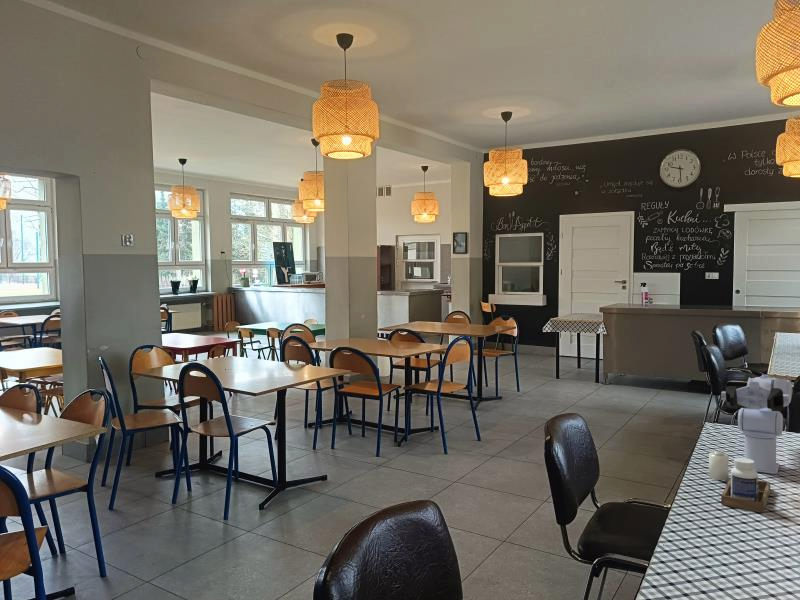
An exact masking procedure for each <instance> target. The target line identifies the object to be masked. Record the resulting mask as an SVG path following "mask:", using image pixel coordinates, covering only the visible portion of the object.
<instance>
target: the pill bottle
mask: <svg viewBox="0 0 800 600" xmlns="http://www.w3.org/2000/svg"><path fill="white" fill-rule="evenodd" d="M733 462H734V463H733V464H734V467H732V468H731V470H730V478H731V495H730V497H736V498H741V499H747V500H752V501H758V502H759V500H758V490H759V489H758V480H759V473H758V471H755V470H753V469H754V468H755V462H754V461H753V460H751V459H746V458H745V457H736V458H734V461H733Z"/></svg>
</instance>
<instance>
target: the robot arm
mask: <svg viewBox="0 0 800 600" xmlns="http://www.w3.org/2000/svg"><path fill="white" fill-rule="evenodd" d="M746 383H747V384H746V386H743V387H739V388H737V386H736V385H734V386H732V385H728V386H726V387H725V391H721V395H720V396H721V401H725V404H726V408H727V409H737V410H738V405H739V406H743V407H741V408H740V409H739V410H738V412H737V413H738V414H737V427H738V429H739V431H740V432H741V433H742V435H743V436H744V458H746V459H751V460H753V461H754V462H755V468H754V469H753V470H755V471H756V472H757V473H758V472H759V473H766V474H770V475H771V474H772V475H778V471H779V468H780V463H779V462H777V438H778V437H781V435H783V430H784V429H783V428H784V427H783V426H784V424H783V423H784V422H783V421H784V420H783V419H784V416H783V414H782V413H781V412H783V410H784V408H785V407H788V406H789V404H790V403H791V401H792V395H793V393H792V392H793V389H792V387H793V385H792V381H791V380H790V379H786V378H785V379H784V378H779V377H770V376H769V374H762V375H761V376H757V377H756V376H755V377H752V378H751V377H748V380H747V381H746ZM744 407H745V408H744Z"/></svg>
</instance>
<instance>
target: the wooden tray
mask: <svg viewBox="0 0 800 600" xmlns="http://www.w3.org/2000/svg"><path fill="white" fill-rule="evenodd" d="M770 492H771V481H766V480H760V479H758V501H752V500H747V499H741V498H736V497H731V477H729V480H727V484H726V486H725V488H724V490H723V492H722V494H721V497H720V498H721V499H720V500H721V501H720V502H721V503H720V504H722V505H721V506H726V505H727V506H728V507H732V508H737V509H738V508H739V509H742V508H743V510H749V511H753V512H759V513H764V512H765V510H766V507H767V503H768V501H769V497H768V496H770ZM729 494H730V495H729ZM727 506H726V507H727Z"/></svg>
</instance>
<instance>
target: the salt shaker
mask: <svg viewBox="0 0 800 600" xmlns="http://www.w3.org/2000/svg"><path fill="white" fill-rule="evenodd" d="M729 463H730V462H729V454H726V453H724V452H722V451H715V452H714V451H713V452H709V453H708V477H710V478H709V479H711V478H712V479H711V480H713V479H715V480H714V481H717V480H727V481H729V480H728V479H730V475H729V472H730V470H729V467H730V466H729V465H730V464H729Z"/></svg>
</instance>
